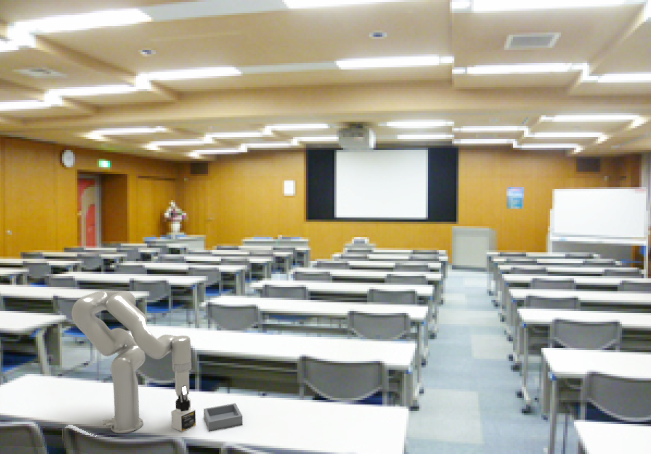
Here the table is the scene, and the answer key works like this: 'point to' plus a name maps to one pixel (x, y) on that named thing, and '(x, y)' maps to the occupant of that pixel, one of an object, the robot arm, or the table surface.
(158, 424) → the table surface
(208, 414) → the box
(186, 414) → the medicine bottle
